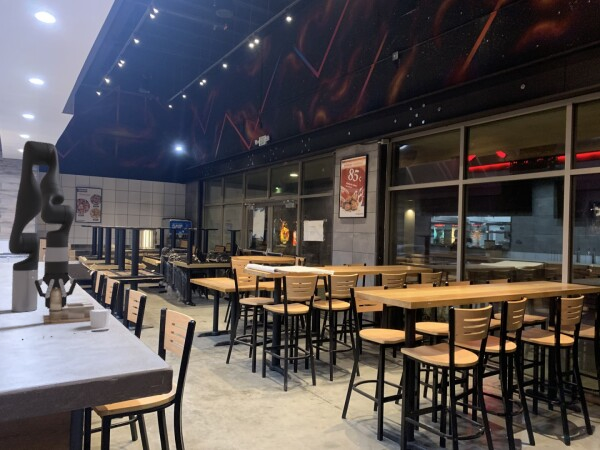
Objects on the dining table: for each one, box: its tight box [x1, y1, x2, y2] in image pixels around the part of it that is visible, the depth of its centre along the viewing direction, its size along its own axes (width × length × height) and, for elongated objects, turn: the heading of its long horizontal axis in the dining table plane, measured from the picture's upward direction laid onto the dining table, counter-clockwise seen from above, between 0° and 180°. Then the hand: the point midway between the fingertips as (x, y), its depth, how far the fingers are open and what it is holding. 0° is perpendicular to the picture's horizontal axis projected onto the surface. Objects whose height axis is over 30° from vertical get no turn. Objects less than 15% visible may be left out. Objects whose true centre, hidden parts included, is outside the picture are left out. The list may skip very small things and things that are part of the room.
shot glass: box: [89, 308, 112, 333], centre depth 149 cm, size 7×7×7 cm
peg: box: [48, 288, 63, 323], centre depth 154 cm, size 4×4×12 cm
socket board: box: [42, 301, 95, 326], centre depth 161 cm, size 20×17×6 cm
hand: (55, 307), depth 154 cm, fingers closed on peg, 4 cm apart
